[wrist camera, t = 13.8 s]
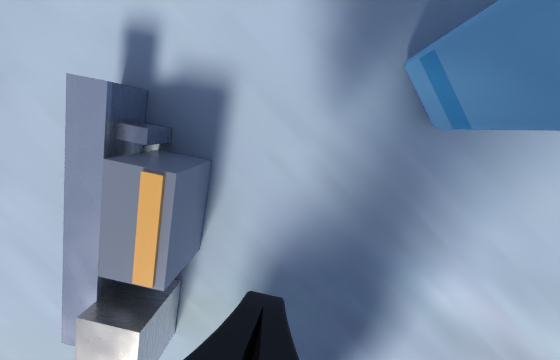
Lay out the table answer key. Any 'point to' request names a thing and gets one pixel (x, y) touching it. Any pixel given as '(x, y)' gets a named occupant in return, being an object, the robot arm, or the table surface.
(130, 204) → the block
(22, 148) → the table surface
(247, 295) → the robot arm
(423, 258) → the table surface
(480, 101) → the data package
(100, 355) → the rail
